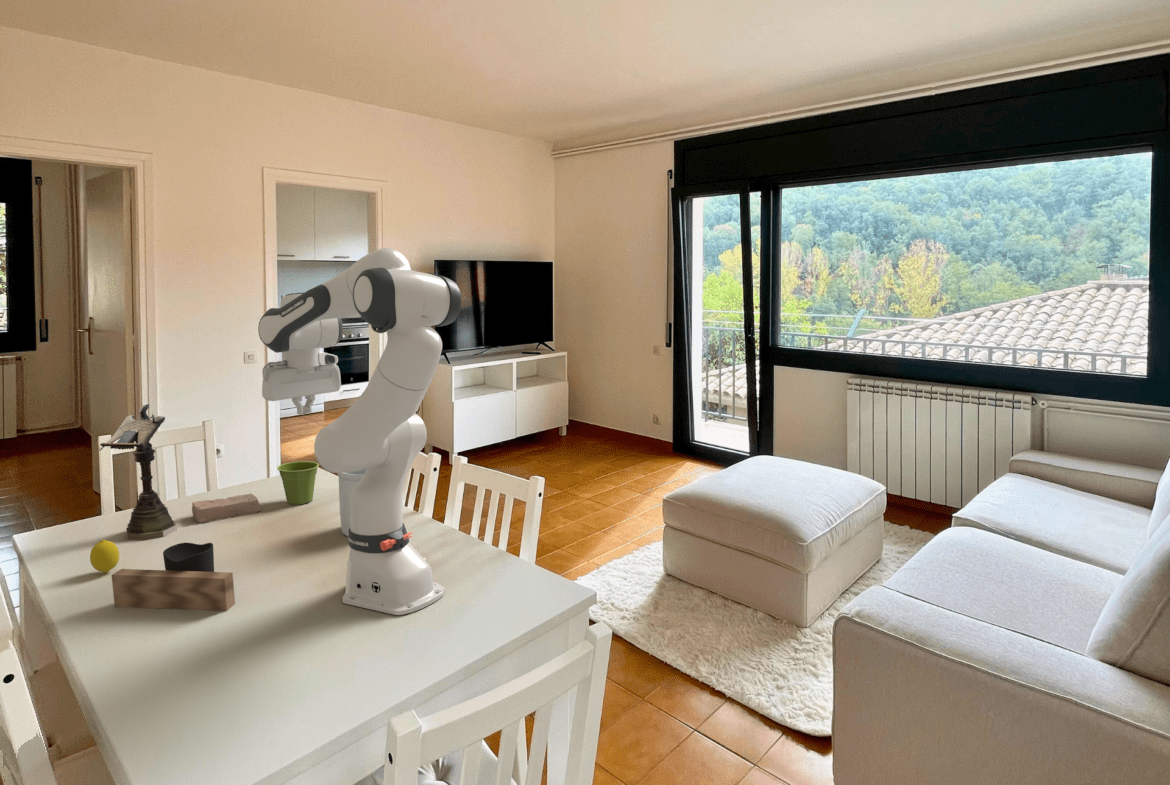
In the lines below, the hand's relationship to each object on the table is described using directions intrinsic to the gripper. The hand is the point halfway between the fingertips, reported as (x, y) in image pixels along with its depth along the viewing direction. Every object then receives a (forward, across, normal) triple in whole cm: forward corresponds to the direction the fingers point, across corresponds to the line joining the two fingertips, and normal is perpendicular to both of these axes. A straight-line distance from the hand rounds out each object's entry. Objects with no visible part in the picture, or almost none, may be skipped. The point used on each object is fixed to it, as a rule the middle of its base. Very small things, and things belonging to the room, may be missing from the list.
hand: (304, 413), depth 174 cm
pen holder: (+34, -32, -3) cm, 47 cm away
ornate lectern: (+34, -21, +40) cm, 57 cm away
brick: (+35, 0, +40) cm, 53 cm away
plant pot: (+34, +19, +32) cm, 51 cm away
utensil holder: (+34, +15, -4) cm, 38 cm away
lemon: (+34, -38, +23) cm, 56 cm away
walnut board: (+34, -37, -6) cm, 51 cm away
